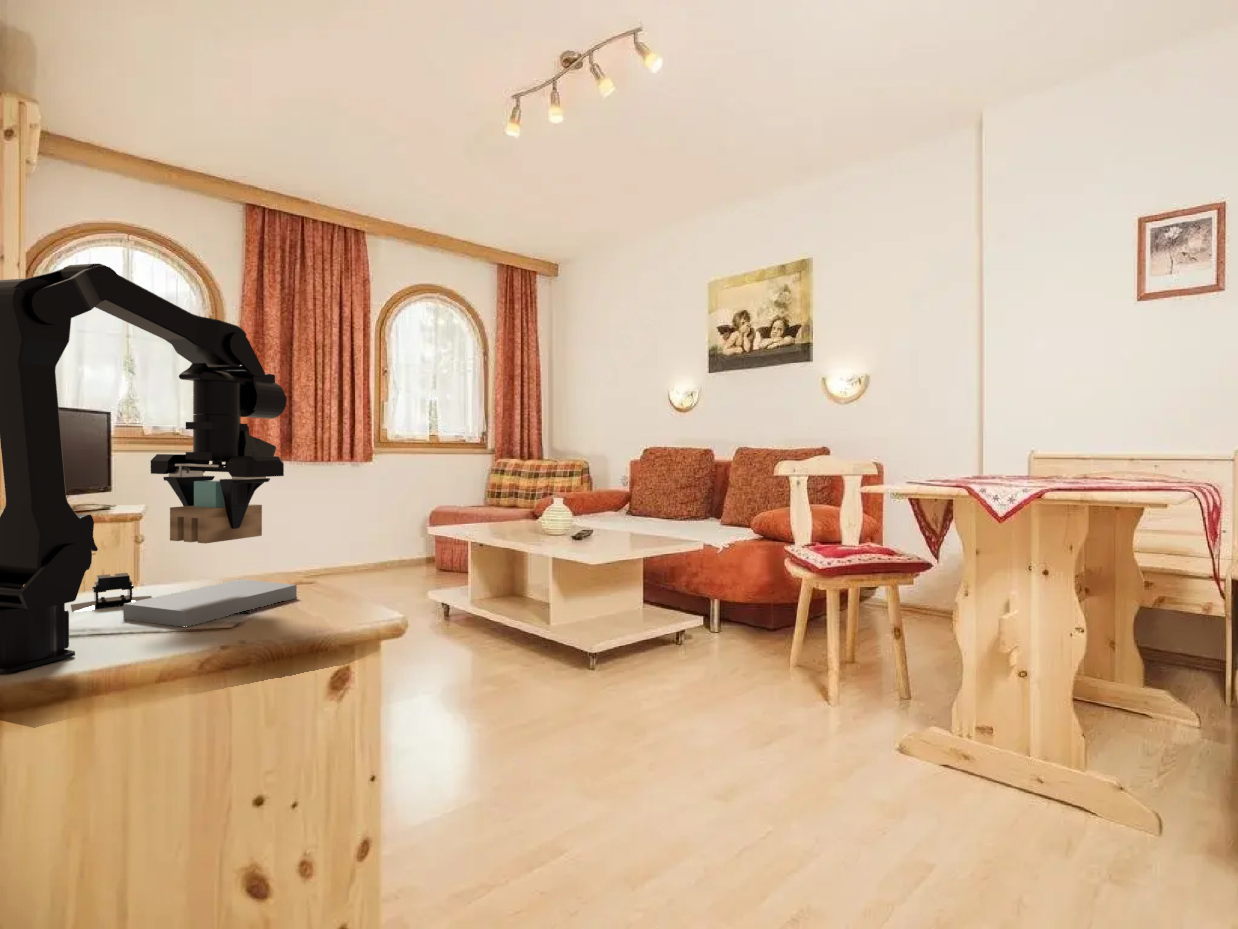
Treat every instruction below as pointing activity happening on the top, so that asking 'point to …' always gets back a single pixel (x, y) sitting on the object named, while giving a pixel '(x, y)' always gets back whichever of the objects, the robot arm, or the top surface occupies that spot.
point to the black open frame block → (106, 584)
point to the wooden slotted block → (212, 524)
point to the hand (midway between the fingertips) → (217, 527)
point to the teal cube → (208, 494)
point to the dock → (208, 602)
